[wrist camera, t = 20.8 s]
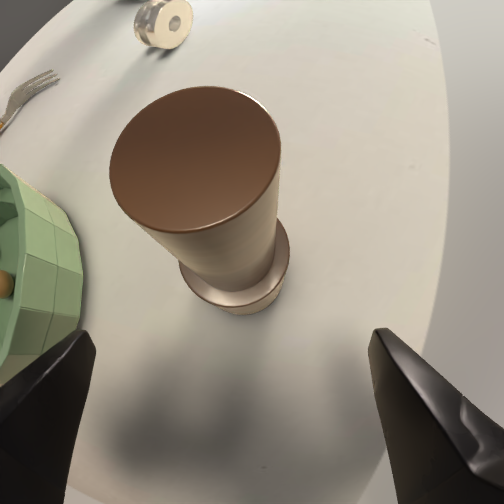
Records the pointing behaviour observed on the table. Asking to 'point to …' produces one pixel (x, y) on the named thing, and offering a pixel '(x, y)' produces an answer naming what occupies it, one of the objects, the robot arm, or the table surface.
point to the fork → (24, 95)
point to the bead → (6, 284)
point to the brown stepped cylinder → (208, 192)
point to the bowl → (35, 274)
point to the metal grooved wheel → (163, 23)
